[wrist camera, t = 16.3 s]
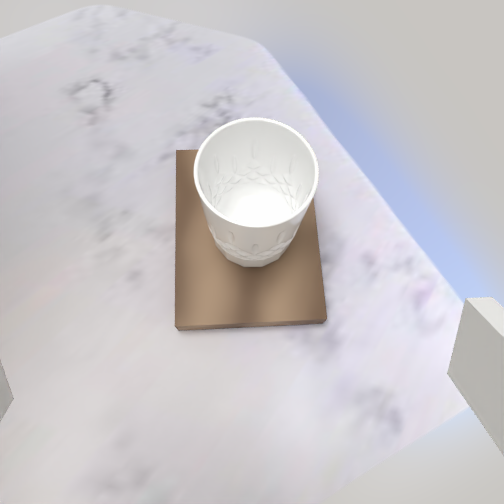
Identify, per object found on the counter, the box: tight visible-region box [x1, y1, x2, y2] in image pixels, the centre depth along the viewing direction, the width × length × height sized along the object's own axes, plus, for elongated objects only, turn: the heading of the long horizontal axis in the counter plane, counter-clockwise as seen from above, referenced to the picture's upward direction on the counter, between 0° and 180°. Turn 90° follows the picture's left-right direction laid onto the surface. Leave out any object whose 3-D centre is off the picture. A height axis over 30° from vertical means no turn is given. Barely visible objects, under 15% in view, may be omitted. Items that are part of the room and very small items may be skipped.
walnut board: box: [175, 150, 327, 330], centre depth 37 cm, size 12×16×2 cm
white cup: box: [194, 118, 319, 267], centre depth 31 cm, size 8×8×10 cm
